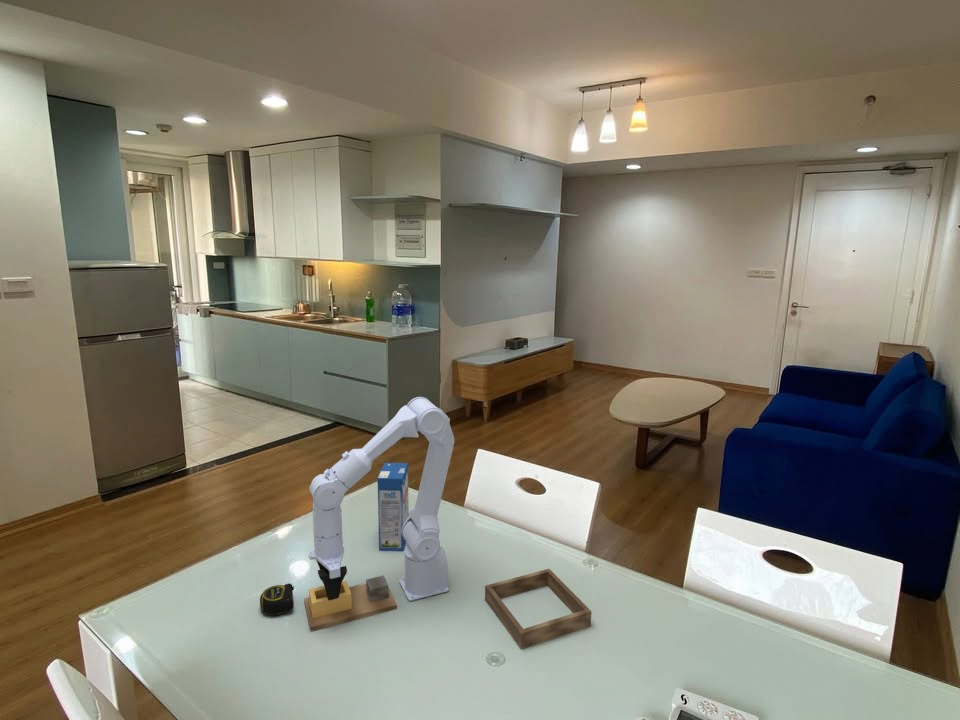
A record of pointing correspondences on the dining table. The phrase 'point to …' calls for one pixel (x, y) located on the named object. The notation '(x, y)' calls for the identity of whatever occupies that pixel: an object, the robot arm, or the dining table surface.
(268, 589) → the tape measure
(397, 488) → the milk carton
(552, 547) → the dining table surface
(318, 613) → the link
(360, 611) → the board
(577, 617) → the frame
